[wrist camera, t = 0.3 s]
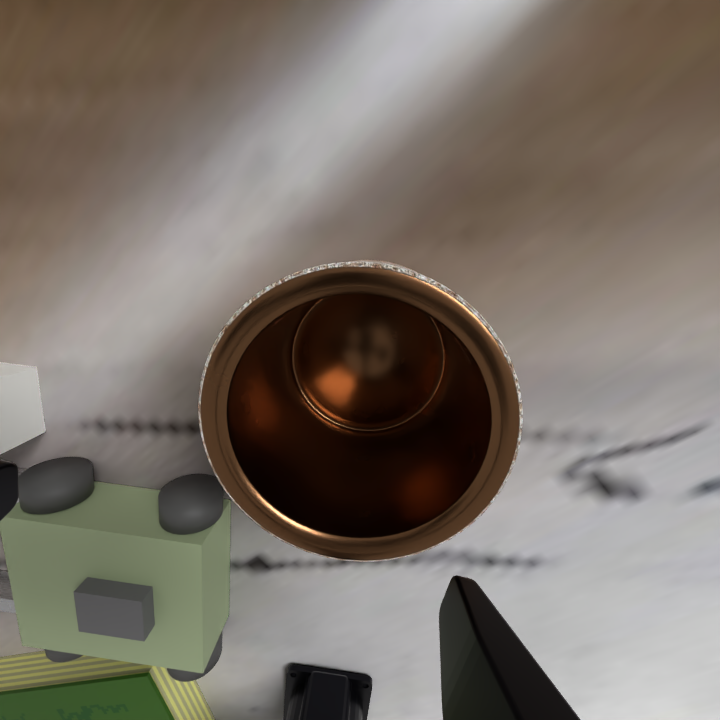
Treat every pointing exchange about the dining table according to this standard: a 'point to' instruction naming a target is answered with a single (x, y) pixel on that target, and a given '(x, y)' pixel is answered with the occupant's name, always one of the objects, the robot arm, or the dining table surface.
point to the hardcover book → (94, 691)
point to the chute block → (19, 405)
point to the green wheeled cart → (120, 567)
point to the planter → (360, 411)
